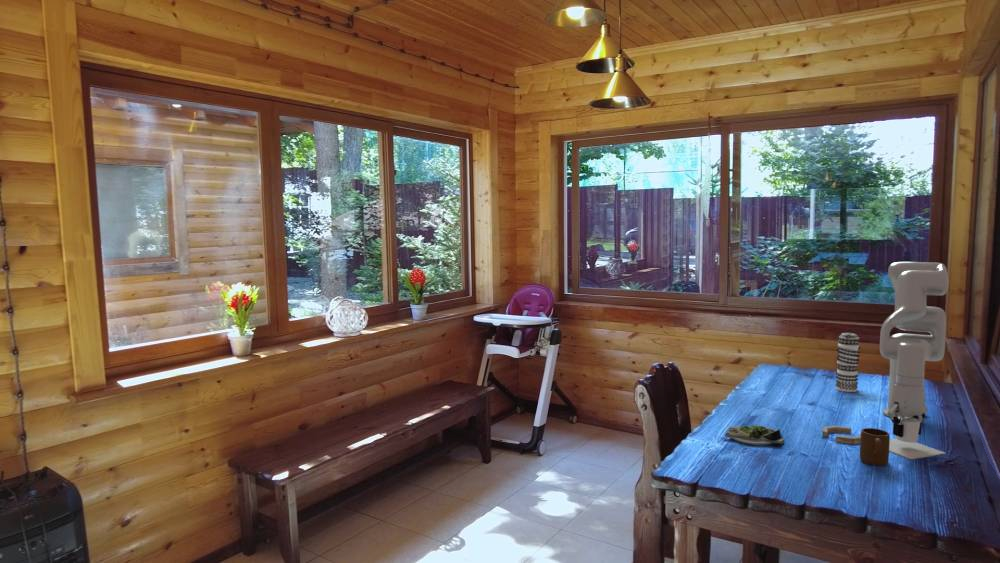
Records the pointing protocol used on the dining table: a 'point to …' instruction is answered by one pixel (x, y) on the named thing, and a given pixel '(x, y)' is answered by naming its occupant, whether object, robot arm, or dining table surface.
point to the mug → (874, 446)
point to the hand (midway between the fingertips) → (906, 434)
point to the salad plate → (755, 435)
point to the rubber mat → (912, 449)
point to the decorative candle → (847, 362)
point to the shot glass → (910, 430)
